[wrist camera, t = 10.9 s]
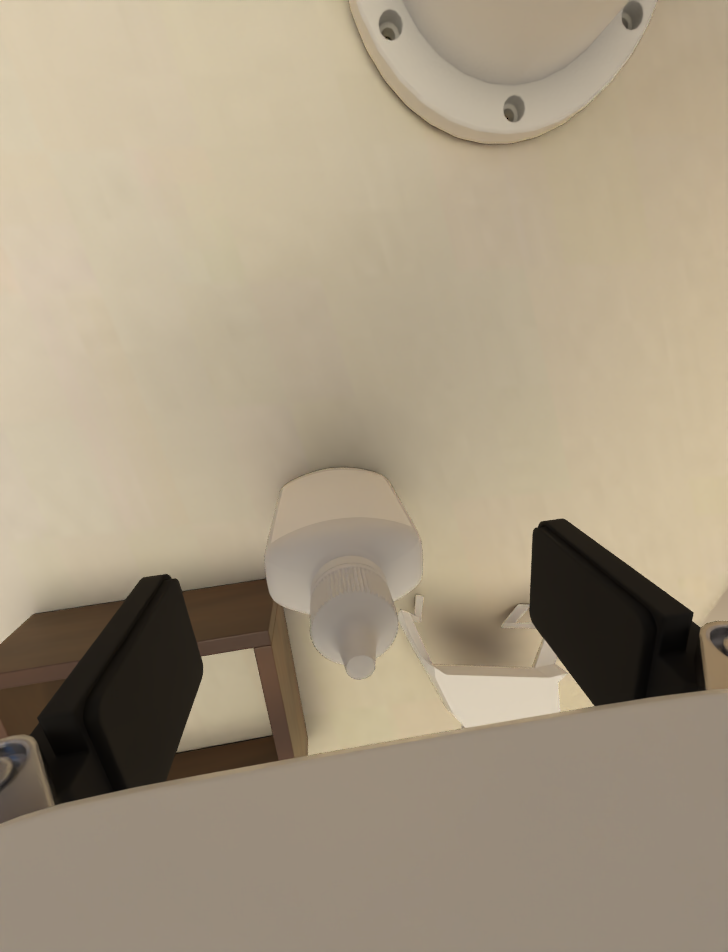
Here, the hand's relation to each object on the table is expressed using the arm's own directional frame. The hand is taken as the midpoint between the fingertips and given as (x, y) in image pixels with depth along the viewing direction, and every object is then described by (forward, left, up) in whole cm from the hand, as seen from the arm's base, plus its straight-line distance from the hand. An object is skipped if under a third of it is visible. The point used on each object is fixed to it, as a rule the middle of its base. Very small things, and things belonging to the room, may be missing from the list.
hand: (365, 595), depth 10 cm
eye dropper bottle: (+1, 0, -11) cm, 11 cm away
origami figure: (+11, +6, -11) cm, 17 cm away
